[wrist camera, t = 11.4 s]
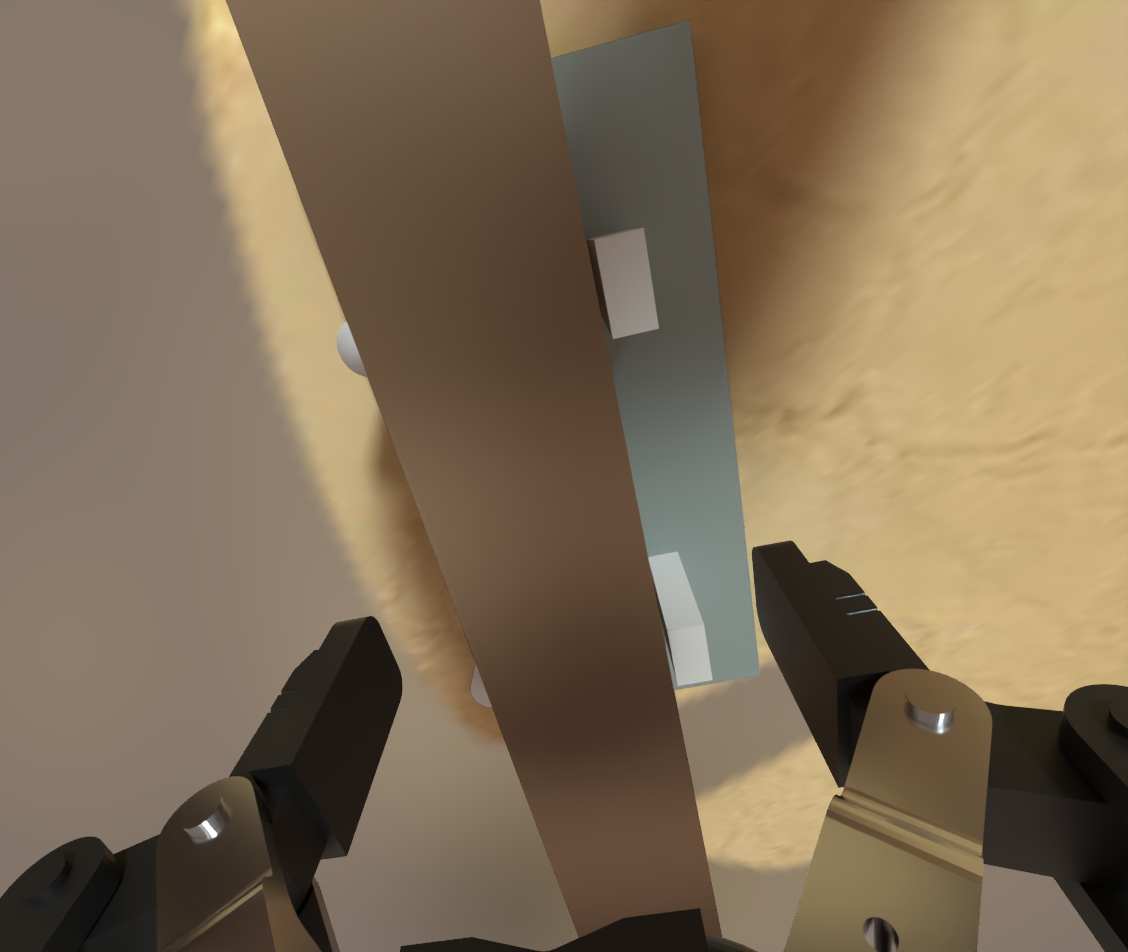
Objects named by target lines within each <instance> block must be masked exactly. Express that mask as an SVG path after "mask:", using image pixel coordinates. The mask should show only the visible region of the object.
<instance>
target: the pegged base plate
mask: <svg viewBox="0 0 1128 952" xmlns="http://www.w3.org/2000/svg"><path fill="white" fill-rule="evenodd" d="M551 62H552V67H553V72H554V77H555V82H556V87H557V93H558V98H559V103H560V108H561V113H562V118H563V123H564V128H565V134H566V139H567V144H568V149H569V154H570V159H571V164H572V169H573V175H574V180H575V185H576V190H577V195H578V200H579V205H580V210H581V216H582V221H583V226H584V231H585V236H586V241H587V246H588V252H589V257H590V262H591V267H592V272H593V277H594V282H595V287H596V293H597V298H598V303H599V308H600V313H601V318H602V323H603V328H604V334H605V339H606V344H607V349H608V354H609V359H610V364H611V369H612V375H613V380H614V385H615V390H616V395H617V400H618V405H619V411H620V416H621V421H622V426H623V431H624V436H625V441H626V446H627V452H628V457H629V462H630V467H631V472H632V477H633V482H634V487H635V493H636V498H637V503H638V508H639V513H640V518H641V523H642V529H643V534H644V539H645V544H646V549H647V554H648V559H649V564H650V570H651V575H652V580H653V585H654V590H655V595H656V600H657V605H658V611H659V616H660V621H661V626H662V631H663V636H664V641H665V646H666V652H667V657H668V662H669V667H670V672H671V677H672V682H673V688H674V690H677V689H683V688H689V687H695V686H701V685H706V684H712V683H718V682H724V681H730V680H736V679H742V678H748V677H753V676H759V675H760V671H759V662H758V652H757V643H756V634H755V624H754V615H753V606H752V596H751V587H750V578H749V568H748V559H747V549H746V540H745V531H744V521H743V512H742V503H741V493H740V484H739V475H738V465H737V456H736V446H735V437H734V428H733V418H732V409H731V400H730V390H729V381H728V372H727V362H726V353H725V343H724V334H723V325H722V315H721V306H720V297H719V287H718V278H717V269H716V259H715V250H714V241H713V231H712V222H711V212H710V203H709V194H708V184H707V175H706V166H705V156H704V147H703V138H702V128H701V119H700V109H699V100H698V91H697V81H696V72H695V63H694V53H693V44H692V35H691V25H690V20H688V21H684V22H681V23H677V24H673V25H670V26H666V27H663V28H659V29H655V30H652V31H648V32H644V33H641V34H637V35H634V36H630V37H626V38H623V39H619V40H615V41H612V42H608V43H605V44H601V45H597V46H594V47H590V48H586V49H583V50H579V51H576V52H572V53H568V54H565V55H561V56H557V57H554V58H551ZM337 347H338V351H339V354H340V356H341V358H342V360H343V362H344V363H345V364H346V365H347V366H348V367H349V368H350V369H351V370H352V371H354V372H355V373H357V374H359V375H362V376H365V377H368V376H367V374H366V371H365V368H364V366H363V363H362V360H361V358H360V355H359V352H358V350H357V347H356V344H355V342H354V339H353V336H352V334H351V331H350V329H349V326H348V323H347V321H346V322H345V323H344V324H343V325H342V326H341V328H340V330H339V333H338V336H337ZM471 694H472V696H473V698H474V699H475V700H476V701H477V702H478V703H479V704H481V705H483V706H486V707H490V708H492V706H491V703H490V700H489V698H488V695H487V692H486V690H485V687H484V684H483V682H482V679H481V676H480V674H479V671H478V668H477V666H476V664H475V669H474V674H473V679H472V684H471Z"/></svg>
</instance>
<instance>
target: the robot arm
mask: <svg viewBox="0 0 1128 952" xmlns="http://www.w3.org/2000/svg"><path fill="white" fill-rule="evenodd" d="M752 561H753V572H754V584H755V595H756V606H757V613H758V618H759V622H760V626H761V629H762V632H763V635H764V637H765V640H766V642H767V644H768V646H769V648H770V650H771V652H772V654H773V656H774V658H775V660H776V662H777V664H778V666H779V668H780V670H781V672H782V674H783V676H784V678H785V680H786V682H787V684H788V686H789V688H790V690H791V692H792V694H793V696H794V698H795V701H796V703H797V705H798V707H799V709H800V711H801V713H802V714H803V717H804V719H805V720H806V723H807V725H808V727H809V729H810V731H811V733H812V735H813V737H814V739H815V741H816V743H817V745H818V747H819V749H820V751H821V753H822V755H823V757H824V759H825V761H826V763H827V765H828V767H829V769H830V771H831V773H832V775H833V777H834V779H835V781H836V783H837V785H838V787H844V790H843V792H842V795H841V796H838V795H835V796H834V797H833V798H832V800H831V802H830V804H829V807H828V810H827V813H826V816H825V819H824V822H823V825H822V829H821V832H820V835H819V838H818V842H817V845H816V848H815V851H814V855H813V858H812V861H811V864H810V868H809V871H808V874H807V877H806V880H805V884H804V887H803V890H802V893H801V897H800V900H799V903H798V906H797V910H796V913H795V916H794V919H793V923H792V926H791V929H790V932H789V936H788V939H787V942H786V945H785V949H784V952H977V945H978V932H979V919H980V905H981V892H982V880H983V864H988V865H993V866H998V867H1003V868H1008V869H1014V870H1019V871H1024V872H1029V873H1035V874H1039V875H1045V876H1050V877H1053V878H1054V879H1055V880H1056V882H1057V883H1058V885H1059V886H1060V888H1061V889H1062V890H1063V892H1064V893H1065V895H1066V896H1067V898H1068V899H1069V900H1070V902H1071V903H1072V905H1073V906H1074V908H1075V909H1076V911H1077V912H1078V914H1079V915H1080V916H1081V918H1082V919H1083V921H1084V922H1085V924H1086V925H1087V926H1088V928H1089V929H1090V931H1091V932H1092V934H1093V935H1094V937H1095V938H1096V940H1097V941H1098V942H1099V944H1100V945H1101V947H1102V948H1103V950H1104V951H1105V952H1128V687H1125V686H1119V685H1108V684H1099V685H1089V686H1084V687H1081V688H1079V689H1076V690H1075V691H1073V692H1072V693H1070V695H1069V696H1068V697H1067V699H1066V701H1065V704H1064V709H1063V711H1054V710H1044V709H1034V708H1024V707H1014V706H1005V705H998V704H993V703H989V702H985V701H983V700H982V699H981V697H980V696H979V695H978V694H977V693H975V692H974V691H973V690H972V689H971V688H969V687H968V686H966V685H965V684H963V683H962V682H960V681H958V680H956V679H954V678H952V677H949V676H947V675H944V674H941V673H938V672H934V671H930V670H929V669H928V668H927V666H926V665H925V664H924V663H923V662H922V660H921V659H920V658H919V657H918V656H917V654H916V653H915V652H914V651H913V650H912V648H911V647H910V646H909V645H908V644H907V642H906V641H905V640H904V639H903V638H902V636H901V635H900V634H899V633H898V632H897V630H896V629H895V628H894V627H893V626H892V624H891V623H890V622H889V621H888V620H887V618H886V617H885V616H884V615H883V614H882V612H881V611H878V610H877V606H876V605H875V604H874V603H873V602H872V600H871V599H870V598H869V597H868V596H865V593H864V591H863V590H862V588H861V587H860V586H859V585H858V584H857V582H856V581H855V580H854V579H853V578H852V576H851V575H850V574H849V573H847V572H845V571H844V570H842V569H840V568H838V567H836V566H835V565H833V564H831V563H829V562H828V561H826V560H825V561H819V562H813V563H809V562H808V561H807V559H806V558H805V557H804V555H803V554H802V553H801V551H800V550H799V549H798V547H797V546H796V545H795V543H794V542H793V541H785V542H780V543H774V544H769V545H763V546H758V547H754V548H753V550H752ZM281 692H282V694H281V695H279V696H278V697H277V699H276V700H275V702H274V704H273V705H272V707H271V713H268V714H267V715H266V717H265V719H264V720H263V722H262V723H261V725H260V727H259V728H258V730H257V732H256V733H255V735H254V737H253V738H252V740H251V741H250V743H249V745H248V746H247V748H246V750H245V751H244V753H243V755H242V756H241V758H240V760H239V761H238V763H237V764H236V766H235V768H234V769H233V771H232V773H231V774H230V776H229V777H228V778H224V779H220V780H218V781H216V782H213V783H211V784H209V785H207V786H206V787H204V788H202V789H201V790H199V791H198V792H196V793H195V794H194V795H193V796H191V797H190V798H189V799H187V800H186V801H185V802H184V803H183V804H182V805H181V806H180V807H179V808H178V809H177V810H176V811H175V812H174V813H173V814H172V816H171V817H170V818H169V820H168V821H167V823H166V824H165V826H164V827H163V829H162V831H161V833H160V834H159V835H157V836H154V837H152V838H150V839H147V840H145V841H143V842H141V843H138V844H136V845H134V846H132V847H129V848H127V849H125V850H122V851H120V852H118V853H115V854H112V852H111V851H110V850H109V849H108V848H107V847H106V845H105V844H104V843H103V842H102V841H101V840H100V839H99V838H97V837H83V838H79V839H76V840H73V841H71V842H69V843H66V844H64V845H62V846H60V847H58V848H57V849H55V850H53V851H52V852H50V853H49V854H47V855H46V856H44V857H43V858H41V859H40V860H38V861H37V862H36V863H35V864H33V865H32V866H31V867H30V868H29V869H27V870H26V871H25V872H24V873H23V874H22V875H21V876H20V877H19V878H18V879H17V880H16V881H15V882H14V883H13V884H12V885H11V886H10V887H9V888H8V890H7V891H6V892H5V893H4V894H3V896H2V897H1V898H0V952H340V951H339V948H338V944H337V941H336V938H335V935H334V931H333V928H332V925H331V922H330V918H329V915H328V912H327V909H326V905H325V902H324V899H323V896H322V893H321V890H320V887H319V884H318V882H317V881H316V879H315V878H314V875H315V872H316V869H317V867H318V864H319V862H320V860H322V859H329V858H336V857H343V856H347V854H348V851H349V848H350V845H351V843H352V840H353V837H354V833H355V831H356V828H357V825H358V822H359V819H360V816H361V813H362V811H363V808H364V805H365V802H366V799H367V796H368V793H369V790H370V787H371V784H372V782H373V778H374V776H375V773H376V769H377V767H378V764H379V761H380V758H381V756H382V753H383V750H384V747H385V744H386V741H387V738H388V735H389V732H390V729H391V726H392V724H393V721H394V718H395V715H396V712H397V709H398V706H399V703H400V700H401V696H402V677H401V673H400V670H399V667H398V665H397V662H396V660H395V658H394V656H393V653H392V651H391V649H390V647H389V644H388V642H387V640H386V638H385V635H384V633H383V631H382V629H381V627H380V624H379V622H378V621H377V620H376V619H375V618H374V617H372V616H369V617H363V618H358V619H352V620H347V621H342V622H337V623H335V624H334V625H333V626H332V628H331V630H330V631H329V633H328V635H327V637H326V639H325V640H324V642H323V644H322V645H321V647H320V649H319V650H314V651H313V652H312V653H311V654H310V655H309V656H308V657H307V658H306V659H305V660H304V661H303V662H302V663H301V664H300V665H299V666H298V667H297V668H296V669H295V670H294V671H293V673H292V674H291V676H290V677H289V679H288V681H287V682H286V684H285V686H284V687H283V689H282V691H281ZM400 952H542V951H535V950H530V949H526V948H521V947H516V946H511V945H507V944H501V943H497V942H492V941H488V940H483V939H478V938H473V937H470V938H462V939H454V940H446V941H438V942H430V943H422V944H415V945H407V946H401V949H400ZM545 952H757V951H755V950H753V949H751V948H749V947H746V946H744V945H742V944H739V943H736V942H733V941H731V940H728V939H725V938H721V937H716V936H711V935H706V934H705V930H704V925H703V920H702V915H701V910H700V908H697V909H689V910H681V911H673V912H665V913H658V914H650V915H642V916H634V917H626V918H622V919H620V920H618V921H616V922H614V923H611V924H609V925H607V926H605V927H602V928H600V929H598V930H596V931H594V932H591V933H589V934H587V935H585V936H583V937H580V938H578V939H576V940H574V941H572V942H569V943H567V944H565V945H563V946H560V947H558V948H556V949H554V950H551V951H545Z"/></svg>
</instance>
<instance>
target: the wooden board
mask: <svg viewBox="0 0 1128 952" xmlns="http://www.w3.org/2000/svg"><path fill="white" fill-rule="evenodd" d="M226 2H227V5H228V7H229V10H230V13H231V15H232V18H233V21H234V23H235V26H236V28H237V31H238V34H239V36H240V39H241V42H242V44H243V47H244V50H245V52H246V55H247V58H248V60H249V63H250V66H251V68H252V71H253V74H254V76H255V79H256V82H257V84H258V87H259V90H260V92H261V95H262V98H263V100H264V103H265V105H266V108H267V111H268V113H269V116H270V119H271V121H272V124H273V127H274V129H275V132H276V135H277V137H278V140H279V143H280V145H281V148H282V151H283V153H284V156H285V159H286V161H287V164H288V167H289V169H290V172H291V175H292V177H293V180H294V182H295V185H296V188H297V190H298V193H299V196H300V198H301V201H302V204H303V206H304V209H305V212H306V214H307V217H308V220H309V222H310V225H311V228H312V230H313V233H314V236H315V238H316V241H317V244H318V246H319V249H320V252H321V254H322V257H323V259H324V262H325V265H326V267H327V270H328V273H329V275H330V278H331V281H332V283H333V286H334V289H335V291H336V294H337V297H338V299H339V302H340V305H341V307H342V310H343V313H344V315H345V318H346V321H347V323H348V326H349V329H350V331H351V334H352V336H353V339H354V342H355V344H356V347H357V350H358V352H359V355H360V358H361V360H362V363H363V366H364V368H365V371H366V374H367V376H368V379H369V382H370V384H371V387H372V390H373V392H374V395H375V398H376V400H377V403H378V406H379V408H380V411H381V413H382V416H383V419H384V421H385V424H386V427H387V429H388V432H389V435H390V437H391V440H392V443H393V445H394V448H395V451H396V453H397V456H398V459H399V461H400V464H401V467H402V469H403V472H404V475H405V477H406V480H407V483H408V485H409V488H410V490H411V493H412V496H413V498H414V501H415V504H416V506H417V509H418V512H419V514H420V517H421V520H422V522H423V525H424V528H425V530H426V533H427V536H428V538H429V541H430V544H431V546H432V549H433V552H434V554H435V557H436V559H437V562H438V565H439V567H440V570H441V573H442V575H443V578H444V581H445V583H446V586H447V589H448V591H449V594H450V597H451V599H452V602H453V605H454V607H455V610H456V613H457V615H458V618H459V621H460V623H461V626H462V629H463V631H464V634H465V636H466V639H467V642H468V644H469V647H470V650H471V652H472V655H473V658H474V660H475V663H476V666H477V668H478V671H479V674H480V676H481V679H482V682H483V684H484V687H485V690H486V692H487V695H488V698H489V700H490V703H491V706H492V708H493V711H494V713H495V716H496V719H497V721H498V724H499V727H500V729H501V732H502V735H503V737H504V740H505V743H506V745H507V748H508V751H509V753H510V756H511V759H512V761H513V764H514V767H515V769H516V772H517V775H518V777H519V780H520V783H521V785H522V788H523V790H524V793H525V796H526V798H527V801H528V804H529V806H530V809H531V811H532V814H533V817H534V820H535V822H536V825H537V827H538V830H539V833H540V836H541V838H542V841H543V843H544V846H545V849H546V852H547V854H548V857H549V860H550V862H551V864H552V867H553V870H554V873H555V875H556V878H557V881H558V883H559V886H560V888H561V891H562V894H563V897H564V899H565V902H566V905H567V907H568V910H569V913H570V915H571V917H572V921H573V923H574V926H575V928H576V931H577V934H578V937H579V938H580V937H583V936H585V935H587V934H589V933H591V932H594V931H596V930H598V929H600V928H602V927H605V926H607V925H609V924H611V923H614V922H616V921H618V920H620V919H622V918H626V917H634V916H642V915H650V914H658V913H665V912H673V911H681V910H689V909H697V908H700V910H701V915H702V920H703V925H704V930H705V934H706V935H711V936H716V937H721V938H722V934H721V929H720V923H719V918H718V913H717V909H716V903H715V898H714V893H713V888H712V882H711V878H710V872H709V867H708V862H707V857H706V852H705V847H704V841H703V836H702V831H701V826H700V821H699V816H698V811H697V805H696V800H695V795H694V789H693V784H692V779H691V774H690V768H689V763H688V758H687V754H686V749H685V744H684V739H683V734H682V729H681V724H680V718H679V713H678V708H677V703H676V698H675V693H674V688H673V682H672V677H671V672H670V667H669V662H668V657H667V652H666V646H665V641H664V636H663V631H662V626H661V621H660V616H659V611H658V605H657V600H656V595H655V590H654V585H653V580H652V575H651V570H650V564H649V559H648V554H647V549H646V544H645V539H644V534H643V529H642V523H641V518H640V513H639V508H638V503H637V498H636V493H635V487H634V482H633V477H632V472H631V467H630V462H629V457H628V452H627V446H626V441H625V436H624V431H623V426H622V421H621V416H620V411H619V405H618V400H617V395H616V390H615V385H614V380H613V375H612V369H611V364H610V359H609V354H608V349H607V344H606V339H605V334H604V328H603V323H602V318H601V313H600V308H599V303H598V298H597V293H596V287H595V282H594V277H593V272H592V267H591V262H590V257H589V252H588V246H587V241H586V236H585V231H584V226H583V221H582V216H581V210H580V205H579V200H578V195H577V190H576V185H575V180H574V175H573V169H572V164H571V159H570V154H569V149H568V144H567V139H566V134H565V128H564V123H563V118H562V113H561V108H560V103H559V98H558V93H557V87H556V82H555V77H554V72H553V67H552V62H551V57H550V51H549V46H548V41H547V36H546V31H545V26H544V21H543V16H542V10H541V5H540V0H226Z"/></svg>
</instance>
